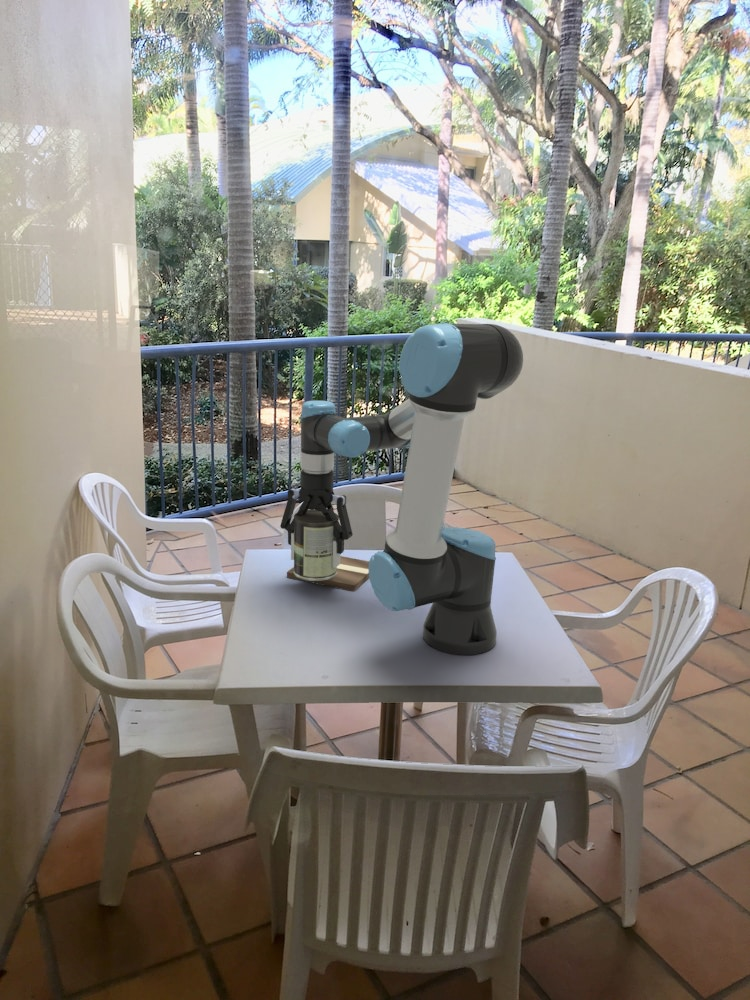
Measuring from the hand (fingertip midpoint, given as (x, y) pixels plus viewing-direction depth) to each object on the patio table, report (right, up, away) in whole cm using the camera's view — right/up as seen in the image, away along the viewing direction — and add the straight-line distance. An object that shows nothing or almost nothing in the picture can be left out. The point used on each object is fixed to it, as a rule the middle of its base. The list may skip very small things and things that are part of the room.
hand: (315, 561), depth 174 cm
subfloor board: (+4, -4, +11) cm, 13 cm away
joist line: (+4, -2, +12) cm, 13 cm away
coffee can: (0, -3, +1) cm, 3 cm away
